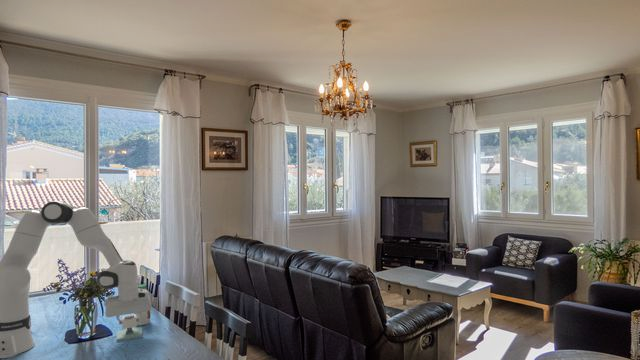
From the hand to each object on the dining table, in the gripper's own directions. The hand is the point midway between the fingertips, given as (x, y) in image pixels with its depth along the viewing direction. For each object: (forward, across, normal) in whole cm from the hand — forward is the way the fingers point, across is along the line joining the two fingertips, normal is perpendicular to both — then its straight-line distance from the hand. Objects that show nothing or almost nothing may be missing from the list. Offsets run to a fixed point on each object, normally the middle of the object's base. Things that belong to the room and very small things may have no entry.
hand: (129, 322), depth 194 cm
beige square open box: (+2, 0, 0) cm, 2 cm away
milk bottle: (+6, +6, +14) cm, 16 cm away
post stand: (+6, 0, 0) cm, 6 cm away
